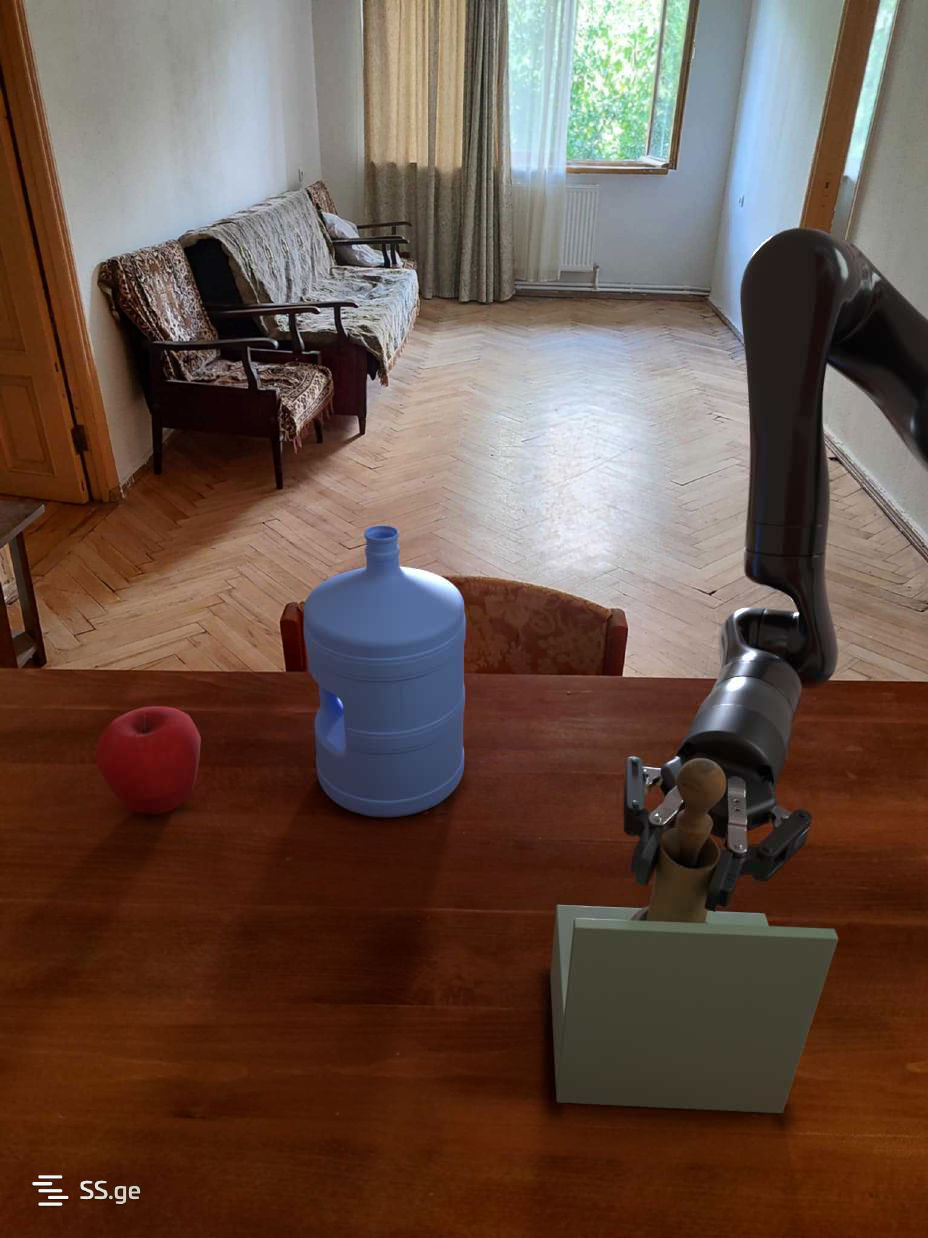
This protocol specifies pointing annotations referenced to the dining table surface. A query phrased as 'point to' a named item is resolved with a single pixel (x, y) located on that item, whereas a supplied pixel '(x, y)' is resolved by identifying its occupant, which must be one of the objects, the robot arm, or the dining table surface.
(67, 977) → the dining table surface
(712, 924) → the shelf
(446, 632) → the water jug
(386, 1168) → the dining table surface
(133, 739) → the apple
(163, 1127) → the dining table surface
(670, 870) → the mortar and pestle
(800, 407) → the robot arm
